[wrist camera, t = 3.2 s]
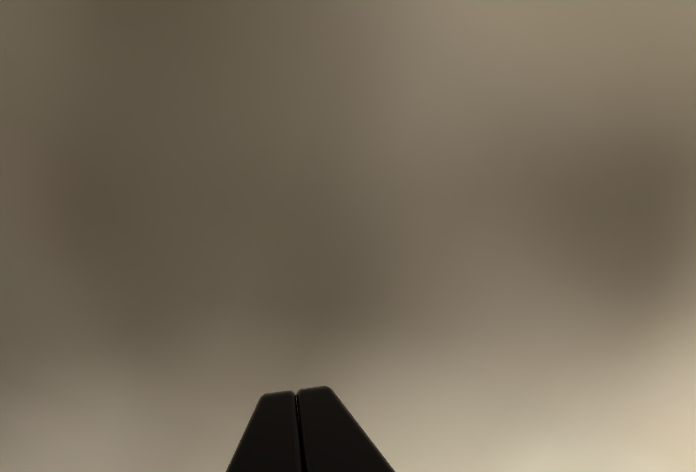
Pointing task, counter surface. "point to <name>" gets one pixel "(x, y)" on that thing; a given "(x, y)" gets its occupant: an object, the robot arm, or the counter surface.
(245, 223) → the counter surface
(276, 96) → the counter surface
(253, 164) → the counter surface
